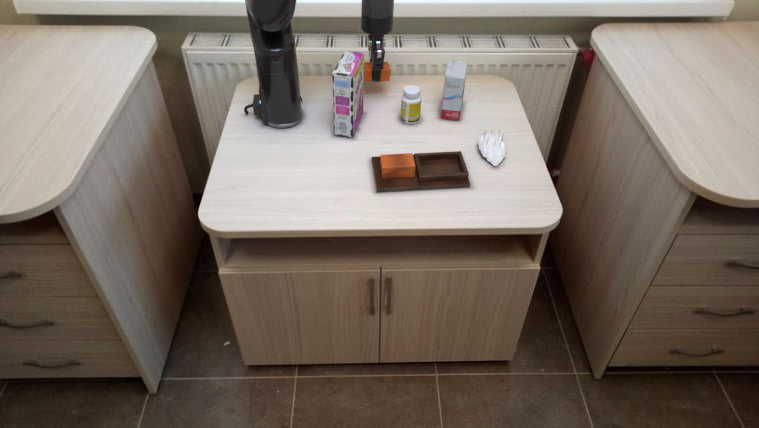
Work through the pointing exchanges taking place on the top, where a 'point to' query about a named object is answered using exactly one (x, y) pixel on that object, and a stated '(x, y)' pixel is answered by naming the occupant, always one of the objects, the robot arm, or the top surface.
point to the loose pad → (368, 72)
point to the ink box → (453, 89)
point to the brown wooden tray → (420, 171)
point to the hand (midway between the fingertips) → (375, 75)
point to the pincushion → (492, 147)
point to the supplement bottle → (411, 104)
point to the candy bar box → (348, 93)
